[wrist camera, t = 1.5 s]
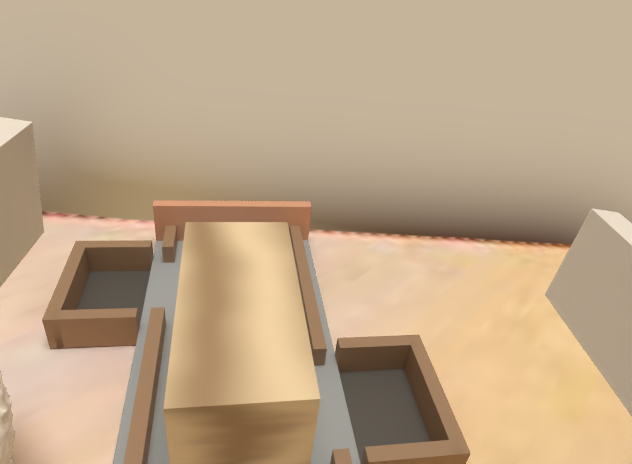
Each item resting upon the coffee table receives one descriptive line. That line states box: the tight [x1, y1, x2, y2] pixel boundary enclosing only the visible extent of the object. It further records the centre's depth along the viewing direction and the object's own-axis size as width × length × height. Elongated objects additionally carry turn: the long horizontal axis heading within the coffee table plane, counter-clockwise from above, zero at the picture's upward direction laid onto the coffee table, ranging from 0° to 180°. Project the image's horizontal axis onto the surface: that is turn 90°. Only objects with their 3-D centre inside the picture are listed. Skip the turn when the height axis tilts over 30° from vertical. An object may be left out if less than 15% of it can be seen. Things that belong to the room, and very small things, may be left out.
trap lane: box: [42, 200, 470, 464], centre depth 37 cm, size 28×32×5 cm
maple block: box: [163, 222, 320, 464], centre depth 31 cm, size 7×15×10 cm, turn 8°
